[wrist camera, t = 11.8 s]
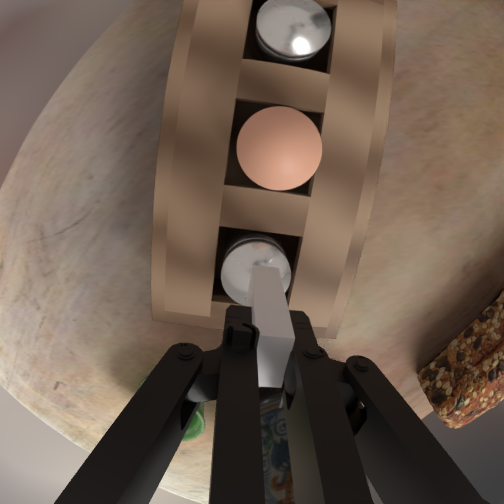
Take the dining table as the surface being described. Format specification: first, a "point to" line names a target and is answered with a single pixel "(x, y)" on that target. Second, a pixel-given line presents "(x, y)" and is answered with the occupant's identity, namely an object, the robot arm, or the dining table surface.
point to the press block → (247, 191)
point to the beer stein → (275, 448)
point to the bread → (469, 370)
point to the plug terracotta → (279, 148)
